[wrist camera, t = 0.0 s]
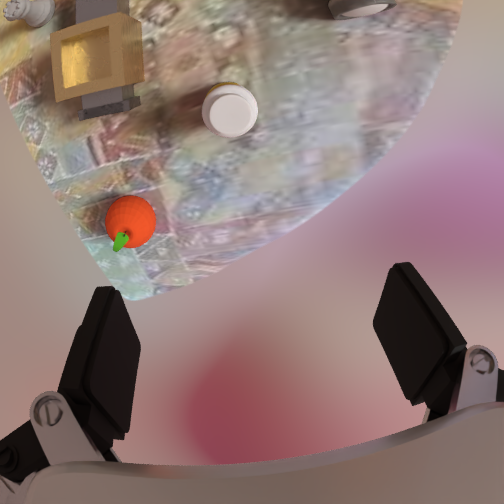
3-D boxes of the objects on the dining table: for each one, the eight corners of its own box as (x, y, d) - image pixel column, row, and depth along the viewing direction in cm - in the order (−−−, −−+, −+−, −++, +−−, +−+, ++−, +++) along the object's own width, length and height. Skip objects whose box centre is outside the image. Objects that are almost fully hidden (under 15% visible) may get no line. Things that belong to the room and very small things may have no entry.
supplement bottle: (195, 108, 34) (187, 122, 26) (223, 73, 32) (224, 74, 24) (232, 132, 36) (236, 154, 28) (259, 98, 34) (273, 109, 26)
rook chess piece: (51, -8, 21) (20, -17, 14) (61, 12, 23) (30, 6, 17) (26, 13, 21) (-7, 9, 15) (36, 33, 24) (2, 32, 17)
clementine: (142, 244, 44) (132, 273, 38) (103, 221, 41) (87, 248, 35) (168, 203, 41) (160, 229, 35) (126, 178, 38) (111, 200, 32)
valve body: (81, -9, 22) (51, -21, 15) (140, -25, 23) (121, -45, 16) (89, 114, 32) (60, 129, 25) (146, 103, 33) (127, 114, 26)
